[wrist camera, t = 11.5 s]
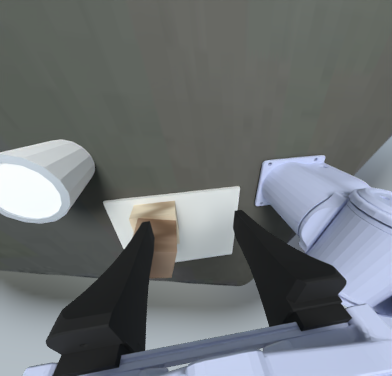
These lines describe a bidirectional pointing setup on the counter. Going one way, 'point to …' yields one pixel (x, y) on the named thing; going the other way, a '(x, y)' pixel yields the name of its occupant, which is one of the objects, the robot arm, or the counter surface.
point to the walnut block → (162, 246)
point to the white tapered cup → (43, 180)
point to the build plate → (187, 220)
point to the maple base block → (155, 213)
